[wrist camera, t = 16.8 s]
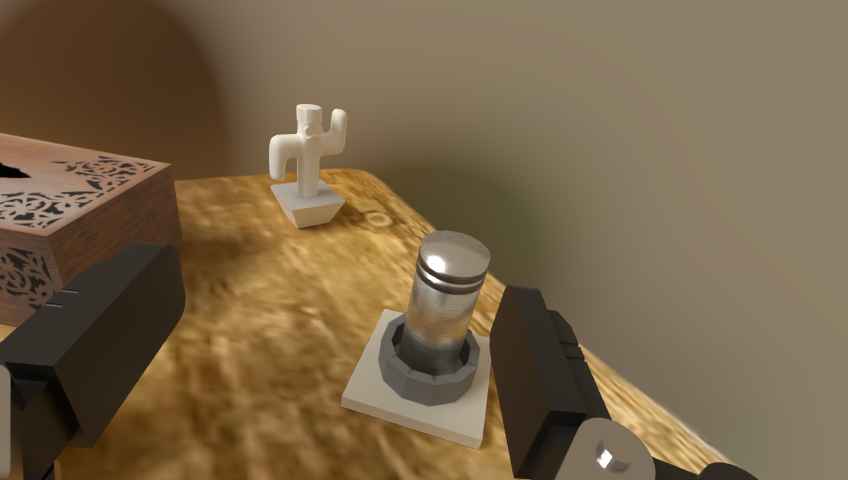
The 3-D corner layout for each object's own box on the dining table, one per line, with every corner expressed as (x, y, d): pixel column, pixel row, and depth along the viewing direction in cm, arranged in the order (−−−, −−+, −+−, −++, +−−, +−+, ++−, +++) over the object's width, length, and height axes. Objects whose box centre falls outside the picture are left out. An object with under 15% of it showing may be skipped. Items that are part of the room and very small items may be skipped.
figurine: (261, 211, 55) (257, 96, 48) (326, 201, 61) (332, 96, 53) (282, 238, 51) (282, 115, 43) (351, 224, 56) (361, 114, 49)
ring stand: (340, 406, 32) (343, 373, 30) (383, 317, 42) (388, 288, 40) (478, 450, 31) (490, 419, 29) (490, 348, 40) (500, 320, 39)
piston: (388, 378, 34) (413, 257, 28) (404, 336, 38) (428, 224, 32) (449, 397, 33) (488, 278, 27) (458, 352, 38) (493, 241, 32)
